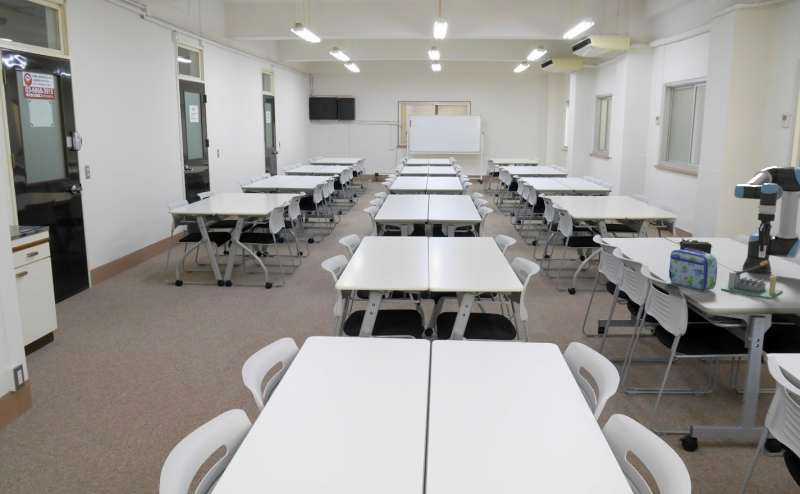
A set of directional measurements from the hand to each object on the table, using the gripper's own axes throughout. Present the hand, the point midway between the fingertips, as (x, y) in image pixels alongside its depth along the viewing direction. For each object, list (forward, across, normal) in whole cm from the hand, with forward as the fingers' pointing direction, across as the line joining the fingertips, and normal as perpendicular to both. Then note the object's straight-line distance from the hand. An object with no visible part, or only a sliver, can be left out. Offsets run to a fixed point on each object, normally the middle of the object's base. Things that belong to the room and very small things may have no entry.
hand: (761, 257), depth 317 cm
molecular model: (+19, -54, -62) cm, 84 cm away
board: (+19, 0, -3) cm, 20 cm away
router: (+19, -19, -42) cm, 50 cm away
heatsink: (+19, 0, -4) cm, 20 cm away
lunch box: (+20, +14, -30) cm, 38 cm away
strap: (+8, 0, -4) cm, 8 cm away
